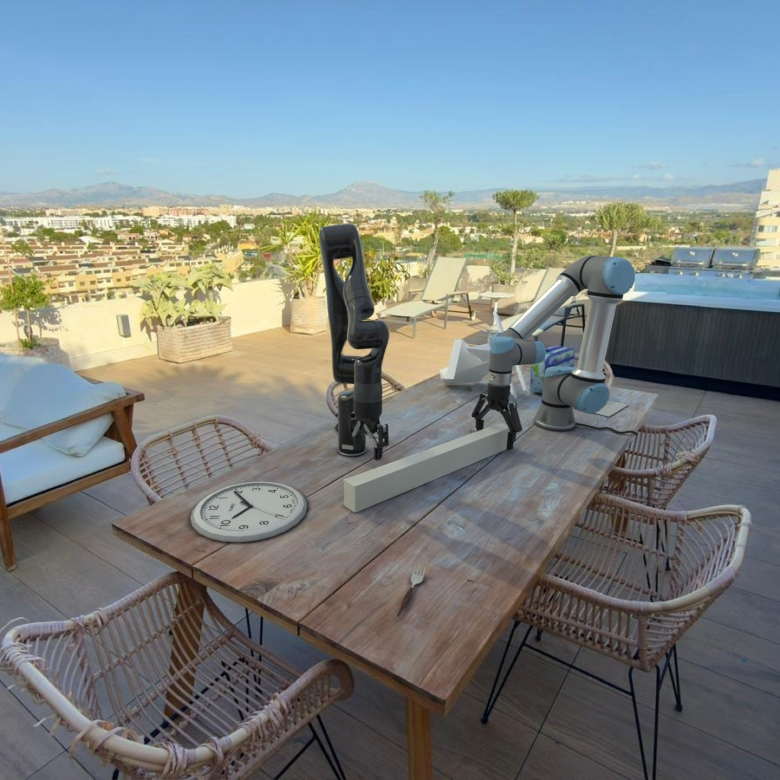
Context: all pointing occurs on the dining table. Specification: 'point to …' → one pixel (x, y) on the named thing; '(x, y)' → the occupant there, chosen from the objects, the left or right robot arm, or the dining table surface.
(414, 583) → the fork
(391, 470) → the bar
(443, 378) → the white plastic object
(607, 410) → the invitation card
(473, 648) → the dining table surface
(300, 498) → the wall clock
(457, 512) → the dining table surface
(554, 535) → the dining table surface
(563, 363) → the lunch box
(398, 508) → the dining table surface
